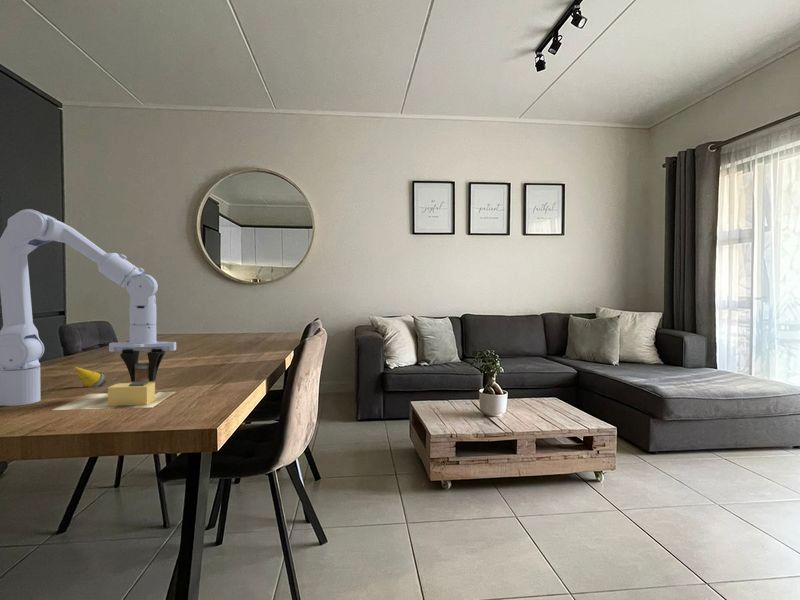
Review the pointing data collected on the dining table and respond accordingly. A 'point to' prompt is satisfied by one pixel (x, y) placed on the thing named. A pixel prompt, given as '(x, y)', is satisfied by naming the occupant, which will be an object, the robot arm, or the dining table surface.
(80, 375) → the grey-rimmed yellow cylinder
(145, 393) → the stud finder
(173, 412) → the dining table surface
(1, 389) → the robot arm
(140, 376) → the brown cylindrical piece
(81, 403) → the panel
